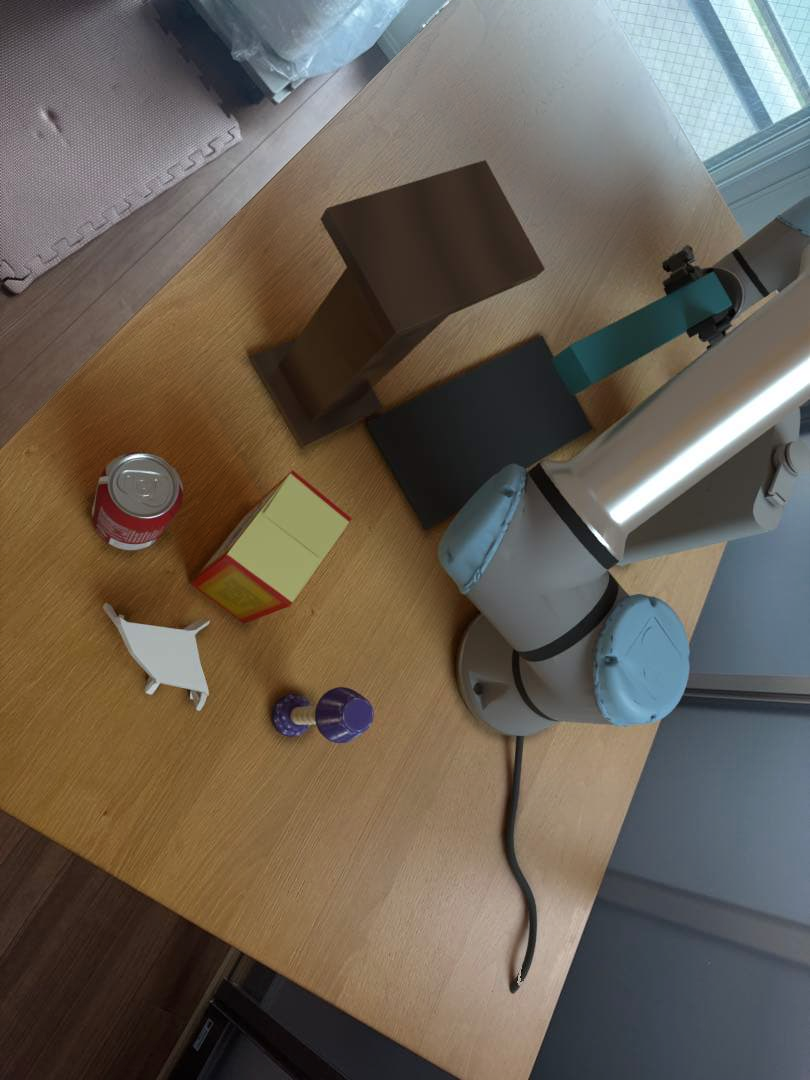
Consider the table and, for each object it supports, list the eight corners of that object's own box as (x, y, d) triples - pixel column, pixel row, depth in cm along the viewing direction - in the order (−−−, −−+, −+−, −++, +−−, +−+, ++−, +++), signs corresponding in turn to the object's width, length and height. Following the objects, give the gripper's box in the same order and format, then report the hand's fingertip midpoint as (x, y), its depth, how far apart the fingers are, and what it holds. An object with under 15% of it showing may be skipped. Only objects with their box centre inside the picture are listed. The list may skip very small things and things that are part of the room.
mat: (539, 337, 97) (542, 335, 97) (590, 429, 98) (592, 428, 97) (364, 423, 83) (366, 422, 82) (424, 530, 84) (427, 529, 83)
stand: (348, 320, 85) (482, 153, 59) (395, 403, 85) (548, 274, 59) (229, 368, 77) (322, 201, 51) (281, 458, 78) (400, 339, 52)
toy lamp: (283, 681, 73) (342, 677, 59) (323, 699, 75) (391, 699, 60) (264, 727, 72) (320, 735, 57) (306, 744, 73) (371, 756, 58)
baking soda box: (243, 623, 73) (291, 605, 59) (190, 584, 71) (225, 555, 57) (296, 550, 77) (353, 517, 62) (247, 511, 75) (293, 468, 61)
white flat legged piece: (232, 634, 72) (244, 630, 68) (194, 715, 69) (204, 716, 65) (116, 581, 68) (121, 573, 64) (71, 663, 65) (73, 661, 61)
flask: (629, 573, 96) (802, 535, 74) (603, 556, 95) (772, 513, 73) (660, 465, 102) (828, 401, 80) (636, 448, 101) (800, 378, 79)
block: (691, 285, 78) (713, 270, 76) (710, 318, 78) (732, 304, 76) (550, 359, 68) (570, 344, 65) (571, 396, 68) (592, 383, 65)
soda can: (155, 560, 70) (174, 535, 60) (81, 540, 68) (88, 511, 57) (174, 495, 72) (196, 460, 62) (103, 474, 70) (113, 433, 59)
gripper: (712, 375, 93) (693, 401, 74) (649, 256, 92) (613, 250, 73) (772, 344, 89) (769, 363, 70) (706, 219, 88) (685, 203, 69)
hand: (689, 305), depth 71 cm, fingers closed on block, 4 cm apart
